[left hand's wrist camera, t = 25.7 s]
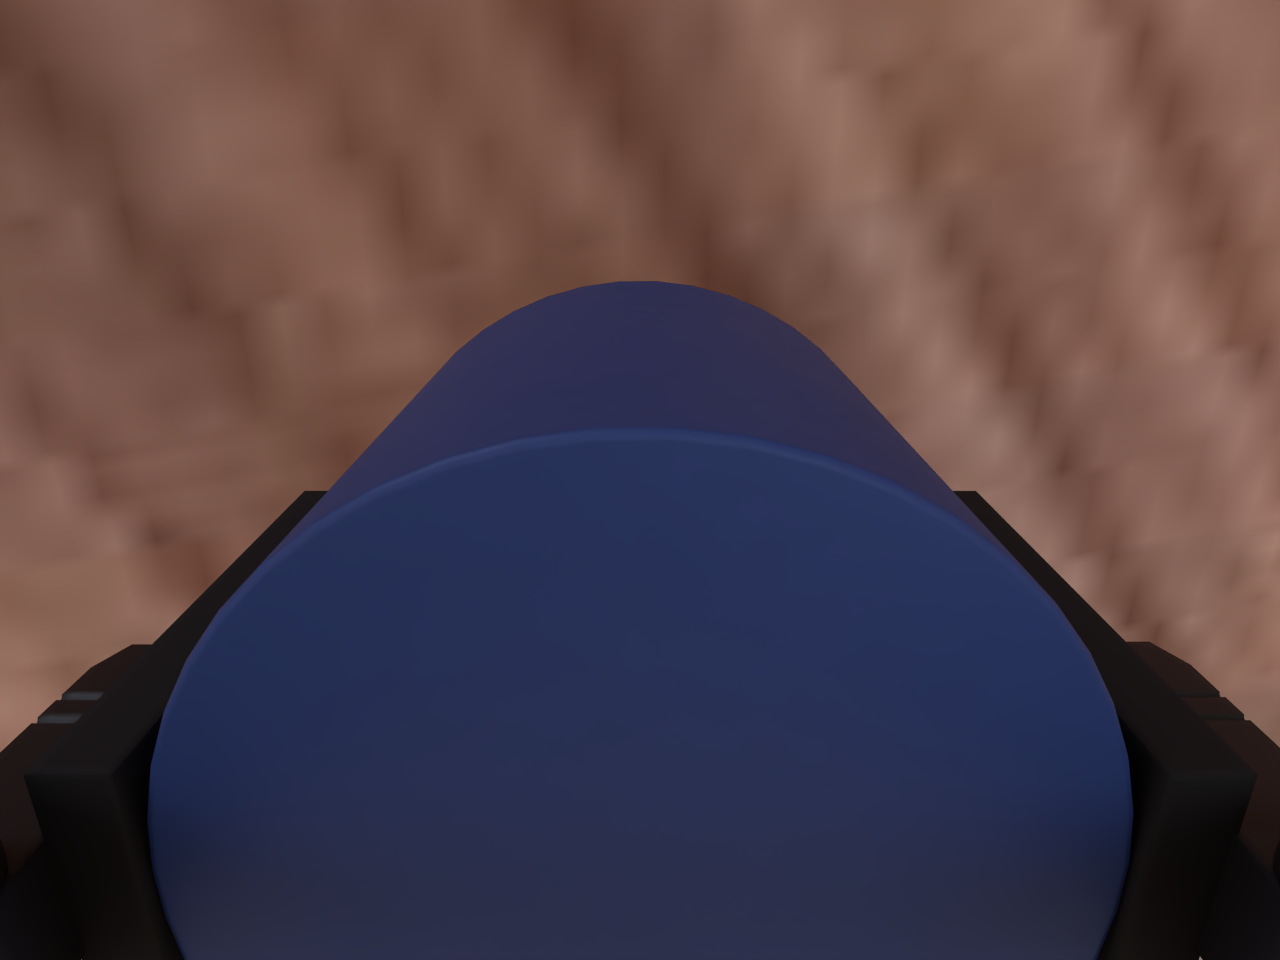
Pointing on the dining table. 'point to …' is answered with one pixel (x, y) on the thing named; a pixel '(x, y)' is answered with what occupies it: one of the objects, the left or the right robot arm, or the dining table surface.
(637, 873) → the blue cylinder
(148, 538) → the dining table surface
